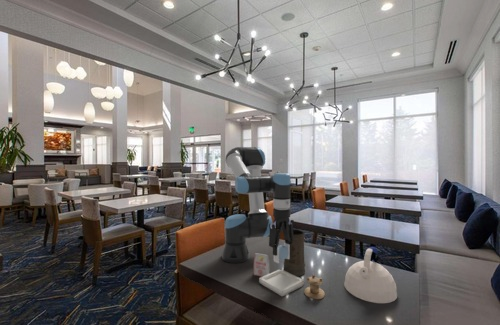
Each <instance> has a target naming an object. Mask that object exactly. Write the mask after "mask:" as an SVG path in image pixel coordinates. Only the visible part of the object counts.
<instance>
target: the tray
mask: <svg viewBox="0 0 500 325" xmlns="http://www.w3.org/2000/svg"><path fill="white" fill-rule="evenodd" d="M258 283H259V284H260V285H262V286H264V287H266V288H267V289H268V290H270V291H272V292H274V293H276V294H277V295H278V296H280V297H284V296H286V295H288V294H291V293H292V292H294V291H296V290H298V289H299V288H301V287H303V286H305V279H302V278H301V277H299V276H294V275H292V274H290V273H288V272H286V271H284V270H283V269H282V268H280V269H277V270H275V271H272V272H269V274H267V275H265V276H263V277H261V276H259V278H258Z"/></svg>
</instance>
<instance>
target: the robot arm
mask: <svg viewBox="0 0 500 325" xmlns="http://www.w3.org/2000/svg"><path fill="white" fill-rule="evenodd" d="M225 163H226V166H228V168H230V169H231V170H230V171H231V172H232V174H233V175H234V177H235V180H234V188H235V192H236V193H238V194H248V201H249V202H248V203H249V212H248V213H247V216H246V214H239V213H237V214H232V215H230V216H228V217H226V219H225V220H224V246H223V250H222V252H221V259H222V260H223V261H224V262H226V263H229V264H230V263H231V264H239V263H244V262H246V261H247V260H249V259H250V253H249V250H248V249H249V248H248V246H247V239H253V238H254V239H255V238H264V237H268V236H269V238H268V246H269V247H270V248H272V255H273V262H274V263H276V264H280V259H279V248H278V246H279V243H280V240H281V239H280V238H281V234H283V238H284V243H283V246H285V247H286V248H287V249H288V251H289V254H288V257H287V258H286V259H290V244H292V242H293V241H294V238H293V229H294V222H295V221H294V219H290V217H291V185H292V184H291V183H292V181H291V174H290V173H287V172H286V173H284V172H277V173H274V174H273V175H264V176H262V170H263V168H264V166H265V164H266V153H265V151H264V150H263V149H262V148H261V147H256V146H254V147H252V146H251V147H250V146H249V147H248V146H247V147H246V146H237V147H234V148H231V149H230V150H229V151H228V152H227V153H226V155H225ZM264 193H273V195H272V196H273V197H272V199H273V200H272V203H273V204H272V207H273V210H272V211H273V214H272V216H271V215H270V214H268V211H266V209H265V199H264ZM272 217H273V218H274V220H273V218H272ZM285 242H286V243H285Z"/></svg>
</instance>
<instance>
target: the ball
mask: <svg viewBox="0 0 500 325" xmlns="http://www.w3.org/2000/svg"><path fill="white" fill-rule="evenodd" d="M278 248H279V261H280V260H281V261H284V259H286V258H287V257H288V254H289V251H288V249H287V248H286V247H285V246H284V244H283V245H281V244H280V245H278Z"/></svg>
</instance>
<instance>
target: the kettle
mask: <svg viewBox="0 0 500 325" xmlns="http://www.w3.org/2000/svg"><path fill="white" fill-rule="evenodd" d="M373 253H375V254H377V253H379V251H378V249H377V248H376V247H375V246H370V247H368V248H366V250H365V254H364V257H363V260H360V261H357V262H355V263H353V264H352V265H350V267H349V268H348V269H347V271H346V272H345V273H346V274H345V278H344V284H343V285H344V289H346V291H348V292H349V294H351V295H352V296H353V297H355V298H358V299H360V300H362V301H366V302H369V303H374V304H389V303H392V302H394V301H395V300H397V298H398V293H397V291H398V290H397V284H396V281H395V279H394V278H393V277H394V276H393V275H392V274H391V273H390V272H389V271H388V270H387V268H385V266H383V265H382V264H380V263H377V262H375V259H372V260H371V258H372V254H373Z"/></svg>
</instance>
